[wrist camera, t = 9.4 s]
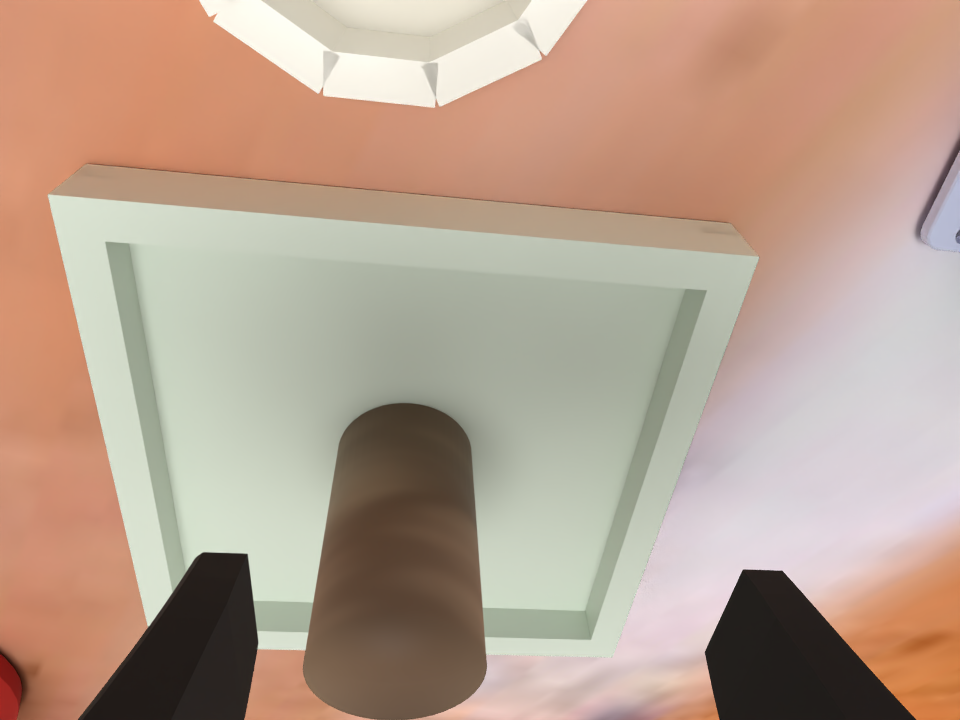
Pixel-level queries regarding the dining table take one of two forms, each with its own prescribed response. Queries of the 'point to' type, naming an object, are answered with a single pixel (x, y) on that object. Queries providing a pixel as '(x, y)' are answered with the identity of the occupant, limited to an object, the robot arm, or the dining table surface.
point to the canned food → (9, 691)
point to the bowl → (397, 42)
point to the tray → (395, 377)
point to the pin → (399, 570)
